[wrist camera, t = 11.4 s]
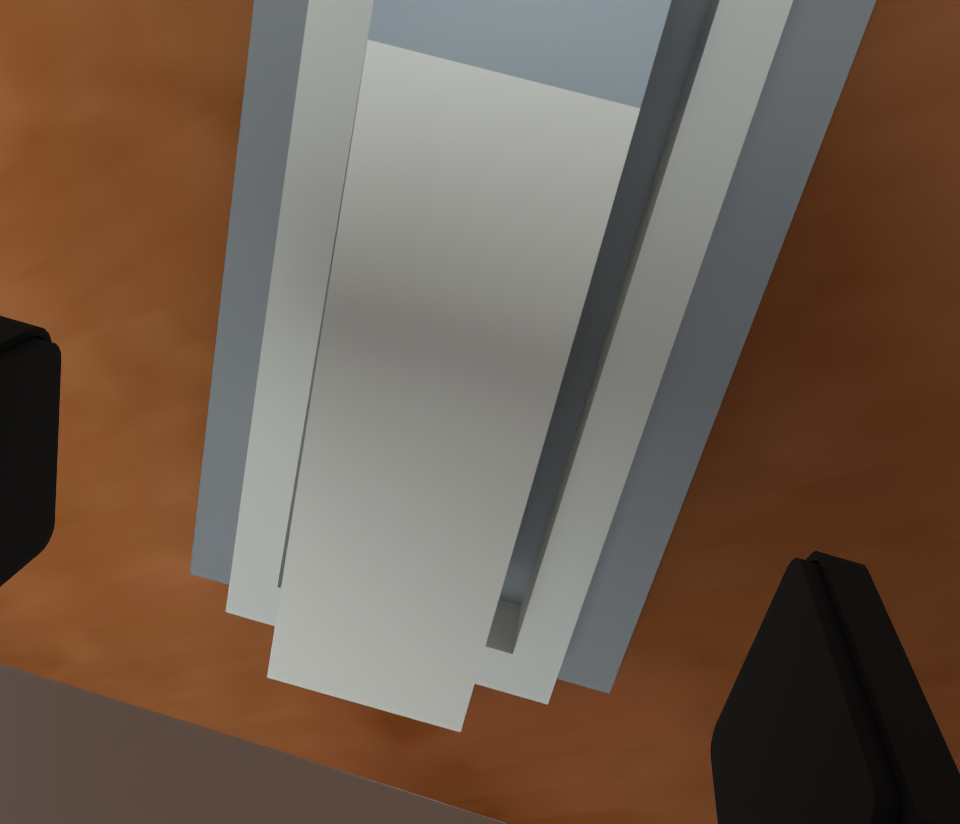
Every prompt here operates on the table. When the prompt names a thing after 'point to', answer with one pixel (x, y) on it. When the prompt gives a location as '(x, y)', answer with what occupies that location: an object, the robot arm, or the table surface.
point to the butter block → (449, 331)
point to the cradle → (601, 329)
